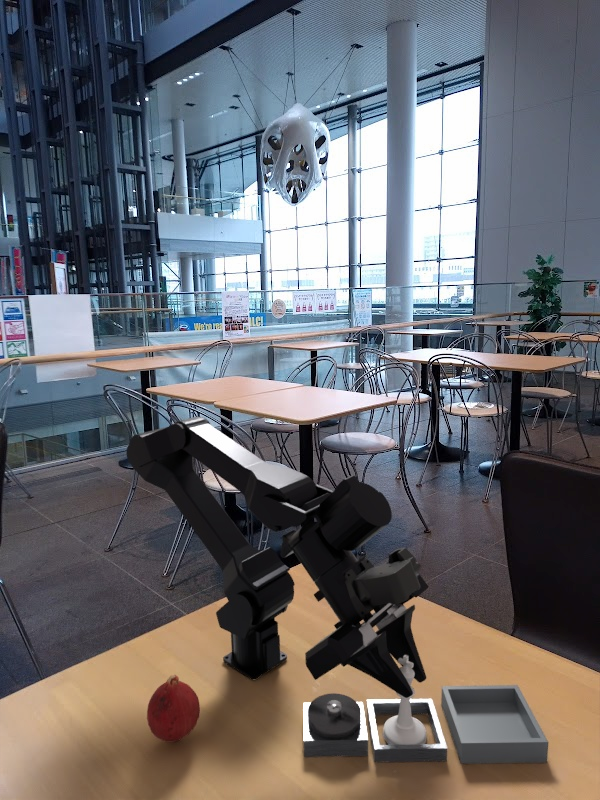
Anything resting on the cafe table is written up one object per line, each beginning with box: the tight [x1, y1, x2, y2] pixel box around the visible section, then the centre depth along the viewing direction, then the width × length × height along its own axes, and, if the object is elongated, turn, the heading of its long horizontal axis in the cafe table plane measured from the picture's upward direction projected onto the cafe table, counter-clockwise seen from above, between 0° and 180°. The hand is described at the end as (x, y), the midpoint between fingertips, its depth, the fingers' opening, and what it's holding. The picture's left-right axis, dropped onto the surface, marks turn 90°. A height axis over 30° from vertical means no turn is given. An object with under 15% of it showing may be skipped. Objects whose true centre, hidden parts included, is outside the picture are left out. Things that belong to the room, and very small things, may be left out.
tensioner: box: [303, 693, 448, 763], centre depth 68 cm, size 15×8×4 cm, turn 90°
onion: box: [146, 674, 201, 743], centre depth 67 cm, size 6×6×8 cm
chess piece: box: [382, 655, 428, 745], centre depth 67 cm, size 5×5×10 cm
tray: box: [440, 684, 549, 765], centre depth 68 cm, size 9×9×2 cm
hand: (416, 688), depth 66 cm, fingers open, 3 cm apart
